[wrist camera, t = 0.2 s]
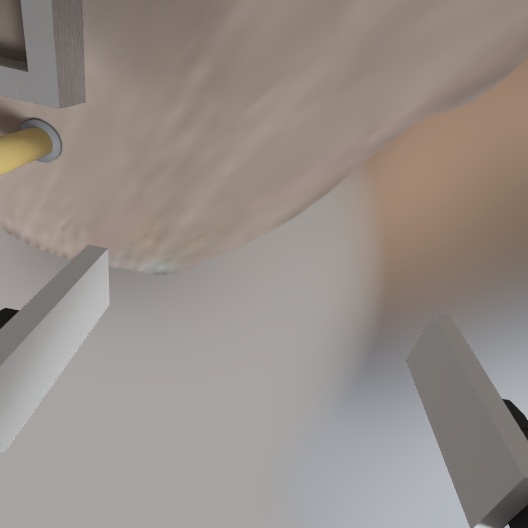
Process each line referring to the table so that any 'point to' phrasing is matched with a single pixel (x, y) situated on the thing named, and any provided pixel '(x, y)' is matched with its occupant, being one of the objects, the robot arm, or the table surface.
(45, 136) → the post
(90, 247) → the robot arm
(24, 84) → the link
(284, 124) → the table surface
